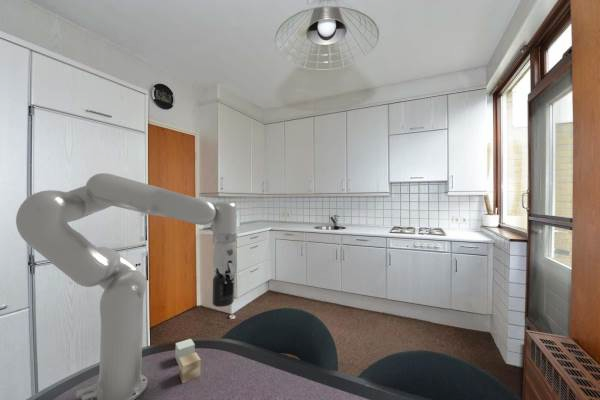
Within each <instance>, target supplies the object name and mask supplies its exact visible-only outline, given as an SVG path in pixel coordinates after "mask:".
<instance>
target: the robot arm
mask: <svg viewBox="0 0 600 400" xmlns="http://www.w3.org/2000/svg"><path fill="white" fill-rule="evenodd" d="M110 207H117V208H121V209H124V210H130V211H134V212H138V213H142V214H143V213H144V214H146V215H151V216H157V217H158V216H159V217H163V218H164V217H165V218H167V219H168V218H169V219H174V220H178V221H182V222H186V223H191V224H195V225H199V226H205V225H209V224H210V223H212V244H213V245H214V247H213V257H212V264H213V266H212V269H213V271H214V276H216V275H217V274H216V268H218V270H219V273H220V274H222V275H223V279H224V283H223V296H228V295H232V294H233V282H234V283H235V275H236V273H237V271H238V259H237V247H236V243H237V242H236V240H237V205H236V204H235V203H233V202H230V201H229V202H225V201H221V202H220V201H219V202H215V203H214V202H210V201H208V200H205V199H202V198H197V197H194V196H191V195H187V194H185V193H184V194H183V193H180V192H176V191H171V190H168V189H166V188H163V187H159V186H155V185H151V184H148V183H144V182H140V181H137V180H133V179H130V178H126V177H124V176H119V175H115V174H111V173H105V172H103V173H102V172H101V173H96V174H93V175H92V176H91V177H90V178H89V179H88V180H87V181H86V184H85V185H83V186H81V187H78V188H74V189H72V190H68V191H61V190H54V189H53V190H52V189H51V190H49V189H48V190H43V191H42V190H41V191H38V192H35V193H33V194H31V195H30V196H28V197H27V198H25V200H24V201H23V202H22V203H21V204H20V206H19V207H18V210H17V213H16V216H15V225H16V228H17V229H16V230H17V232H18V233H19V235H20V237H21V238H22V239H23V240H24V242H25V243H26V244H28V245H29V246H30V247H31V248H32V249H34V250H35V251H36V252H37V253H38V254H40V255H41V256H43V258H45V259H46V260H48V262H50V264H52V265H54V266H55V268H57V269H58V270H60V271H61V272H62V273H63V274H64V275H66V276H67V277H69V278H70V279H71V280H72V281H73V282H74V283H75V284H77V285H79V286H82V287H85V288H91V287H96V286H100V287H101V288H102V289H104V290H103V292H102V294H101V297H100V302H99V315H100V316H99V317H100V344H99V345H100V349H99V350H100V351H99V369H98V370H99V371H98V373H99V376H98V378H97V382H96V383H93V384H92V385H91V386H88V387H84V388H81V389H78V390H76V392H75V400H79V399H81V400H135V399H138V397H140V396H141V395H142V394H143V393H144V392H145V390H146V388H147V387H148V378H147V376H145V375H144V374H142V365H143V364H142V362H143V361H142V359H143V357H142V356H143V331H144V329H143V326H144V325H143V324H144V297H145V292H146V290H147V289H146V288H147V280H146V277H145V276H144V274H143V273H142V272H141V271H140V270H138V269H137V267H135V266H134V265H133V264H131V262H129V261H128V260H127V259H126V258H125V257H124V256H122V255H121V253H119V252H117V251H116V250H114V249H113V248H110V247H106V246H99V247H97V246H96V245H94V244H93V243H92V242H91V241H89V240H88V239H87V238H86V237H85V236H84V235H83V234H81V233H80V232H78V231H77V230H76V229H74V228H73V227H72V226H71V225H69V223H70V222H75V221H77V220H80V219H83V218H85V217H88V216H91V215H92V214H95V213H98V212H101V211H104V210H106V209H108V208H110ZM225 272H229V273H225ZM228 275H229V276H228ZM214 276H213V277H214ZM226 276H228V277H227V279H226ZM233 279H234V280H233Z"/></svg>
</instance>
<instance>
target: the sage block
mask: <svg viewBox="0 0 600 400" xmlns="http://www.w3.org/2000/svg"><path fill="white" fill-rule="evenodd" d="M195 349H196V344H195V343H194V341H193V340H192V338H188V339H185V340H182V341H178V342H175V361H176V363H177V364H178V366H179V358H181V357H183V356H186V355H189V354H192V353H195V351H196V350H195Z"/></svg>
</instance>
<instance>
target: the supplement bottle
mask: <svg viewBox="0 0 600 400" xmlns="http://www.w3.org/2000/svg"><path fill="white" fill-rule="evenodd" d="M225 273H229V272H225ZM216 274H217V275H216V276H213V278H212V299H211V300H212V305H213V306H214V307H218V308H219V307H220V308H223V307H224V308H225V307H228V306H231V305H233V304H234V301H235V299H234V297H235V296H234V295H235V278H234V279H233V280H234V282H233V294H232V295H228V296H223V283H224V279H223V275H222V274H220V273H219V270H218V268H216ZM228 276H229V275H228ZM228 276H226V279H227V277H228Z"/></svg>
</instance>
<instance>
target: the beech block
mask: <svg viewBox="0 0 600 400" xmlns="http://www.w3.org/2000/svg"><path fill="white" fill-rule="evenodd" d="M201 361H202V359H201V358H200V356H199V354H198V353H197V352H195V353H192V354H189V355H186V356H183V357H181V358H179V365H178V375H179V378H180V380H181V382H182V384H184V383H186V382H190V381H192V380H195V379H197V378H199V377H201V370H202V369H201V363H202V362H201Z"/></svg>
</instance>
